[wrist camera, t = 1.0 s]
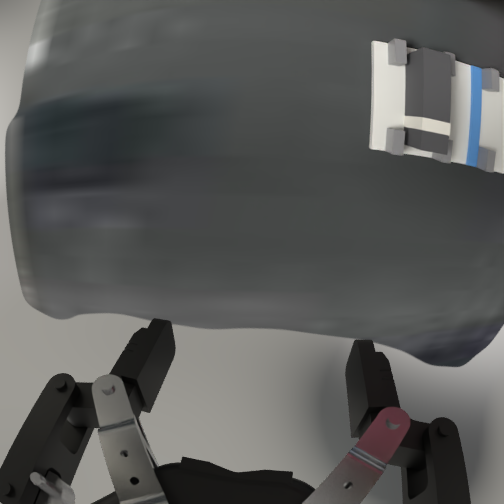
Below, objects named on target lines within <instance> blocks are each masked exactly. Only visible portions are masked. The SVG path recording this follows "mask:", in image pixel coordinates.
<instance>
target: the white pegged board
mask: <svg viewBox="0 0 504 504" xmlns="http://www.w3.org/2000/svg"><path fill="white" fill-rule="evenodd" d="M371 46H372V101H371V127H370V144H369V148H370V149H375V150H383V151H387V152H389V153H391V154H394V155H402V156H403V153H405V154H412V155H418V156H424V157H430V158H433V159H436V160H438V161H440V162H444V163H449V164H451V162H456V163H461V164H466V165H469V166H473V167H477V168H480V169H482V170H484V171H487V172H491V173H493V171H496V172H500V173H504V79H503V78H501V77H499V71H498V70H495V69H493V68H486V69H481V68H478V67H475V66H473V65H472V66H470V65H467V64H464V63H462V62H459V61H455V54H452V53H449V52H446V51H445V52H443V53H446V54H449V55H450V56H451V114H450V123H451V126H450V136H449V143H448V154H447V155H444V154H439V153H433V152H428V151H422V150H418V149H416V148H413V147H410V146H407V145H404V140H405V131H404V127H403V126H404V116H405V64H407V54H409V53H411V52H413V51H415V50H417V49H412V48H408V47H406V41H404V40H400V39H393V40H392V41H390V42H389V43H384V42H378V41H373V42H371Z"/></svg>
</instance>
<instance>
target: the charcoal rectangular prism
mask: <svg viewBox="0 0 504 504" xmlns="http://www.w3.org/2000/svg"><path fill="white" fill-rule="evenodd" d="M450 114H451V56H450V55H449V54H446V53H443V52H439V51H436V50H432V49H428V48H425V47H422V48H420V49H417V50H415V51H413V52H411V53H409V54H407V64H405V116H404V126H403V127H404V131H405V140H404V145H407V146H410V147H413V148H416V149H418V150H422V151H428V152H433V153H439V154H444V155H447V154H448V143H449V136H450V126H451V123H450Z"/></svg>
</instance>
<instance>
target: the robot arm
mask: <svg viewBox="0 0 504 504" xmlns="http://www.w3.org/2000/svg"><path fill="white" fill-rule="evenodd" d="M174 355H175V340H174V335H173V329H172V324H171V321H168V320H162V319H156V318H154V319H153V320H152V321H151V323H150V325H149V327H148V328H141V329H140V330H138V331H137V332H136V333H134V334H133V336H132V338H131V339H130V341H129V343H128V344H127V346H126V347H125V350H124V351H123V352H122V354H121V355H120V357H119V359H118V360H117V362H116V364H115V365H114V367H113V369H112V370H111V372H110V373H109V374H108V375H103V376H101V377H99V378H97V380H95V382H94V383H79V382H75V380H74V378H73V377H72V376H71V375H69V374H66V373H61V374H57V375H55V376H53V377H52V378H51V379H50V380H49V382H48V383H47V385H46V387H45V388H44V390H43V391H42V393H41V395H40V396H39V398H38V400H37V401H36V403H35V405H34V407H33V408H32V410H31V412H30V413H29V415H28V417H27V419H26V420H25V422H24V424H23V426H22V428H21V429H20V431H19V433H18V435H17V437H16V439H15V441H14V443H13V445H12V446H11V448H10V450H9V452H8V454H7V456H6V458H5V460H4V462H3V464H2V466H1V468H0V502H1V503H2V504H75V494H74V492H73V490H72V488H71V487H70V485H71V483H72V480H73V478H74V475H75V473H76V470H77V468H78V465H79V463H80V460H81V458H82V455H83V453H84V451H85V448H86V446H87V444H88V441H89V439H90V437H91V434H92V432H93V430H94V428H100V429H98V435H99V439H100V443H101V447H102V450H103V453H104V457H105V460H106V464H107V466H108V470H109V473H110V476H111V479H112V482H113V485H114V488H115V492H113V493H111V494H109V495H107V496H105V497H103V498H101V499H100V500H97V501H95V502H94V503H92V504H360V503H361V502H362V501H363V499H364V498H365V497H366V495H367V494H368V493H369V492H370V490H371V489H372V487H373V486H374V485H375V483H376V482H377V480H378V479H379V478H380V476H381V475H382V474H383V472H384V470H385V468H386V465H387V464H390V465H395V466H400V467H401V474H402V492H403V504H471V501H470V493H469V486H468V480H467V473H466V467H465V462H464V456H463V452H462V447H461V442H460V437H459V433H458V429H457V426H456V425H455V423H454V422H452V421H451V420H450V419H448V418H444V417H441V418H436V419H435V420H433V421H432V422H431V423H430V424H429V423H423V422H419V421H415V420H412V419H410V418H409V416H408V414H407V413H406V412H405V411H404V410H402V409H401V408H400V404H399V400H398V395H397V391H396V387H395V383H394V380H393V375H392V372H391V367H390V363H389V360H388V359H387V358H386V356H385V355H384V354H383V352H375V348H374V344H373V341H372V340H355V341H354V343H353V346H352V349H351V352H350V355H349V358H348V361H347V364H346V372H345V376H346V386H347V394H348V395H347V396H348V406H349V417H350V429H351V437H352V438H353V437H354V438H355V437H359V441H358V442H357V444H356V445H355V446H354V447H353V448H352V449H351V450H350V451H349V452H348V454H347V455H346V456H345V458H344V459H343V460H342V461H341V462H340V463H339V464H338V466H337V467H336V468H335V469H334V470H333V471H332V472H331V474H330V475H329V476H328V477H327V478H326V479H325V480H324V481H323V482H322V483H321V484H320V486H319V487H318V488H317V489H316V490H315V489H314V488H313V487H312V486H310V485H308V484H307V483H305V482H303V481H301V480H298V479H295V478H292V475H293V472H289V471H274V470H259V471H249V472H233V471H230V470H227V469H225V468H222V467H220V466H217V465H215V464H213V463H210V462H206V461H201V460H196V459H192V458H187V457H182V460H181V463H169V464H165V465H162V466H159V465H158V463H157V461H156V458H155V456H154V454H153V452H152V450H151V448H150V445H149V443H148V440H147V438H146V435H145V433H144V430H143V427H142V425H141V422H140V420H139V416H140V413H141V411H144V412H148V413H150V412H151V409H152V406H153V405H154V402H155V400H156V397H157V395H158V393H159V391H160V388H161V386H162V384H163V381H164V379H165V377H166V375H167V372H168V370H169V368H170V365H171V363H172V361H173V358H174Z"/></svg>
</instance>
